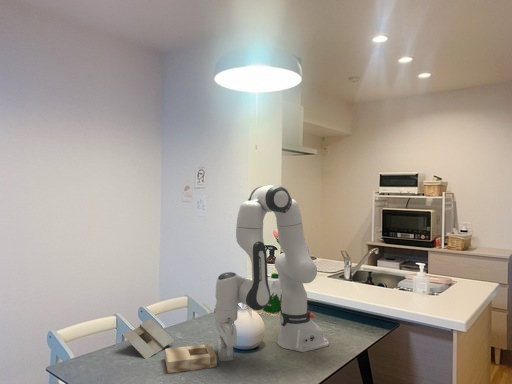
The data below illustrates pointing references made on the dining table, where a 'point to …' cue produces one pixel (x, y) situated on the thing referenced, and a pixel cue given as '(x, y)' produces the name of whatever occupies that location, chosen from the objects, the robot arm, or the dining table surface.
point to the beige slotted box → (148, 338)
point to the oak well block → (190, 358)
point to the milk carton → (274, 294)
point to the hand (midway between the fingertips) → (225, 349)
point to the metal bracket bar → (224, 351)
